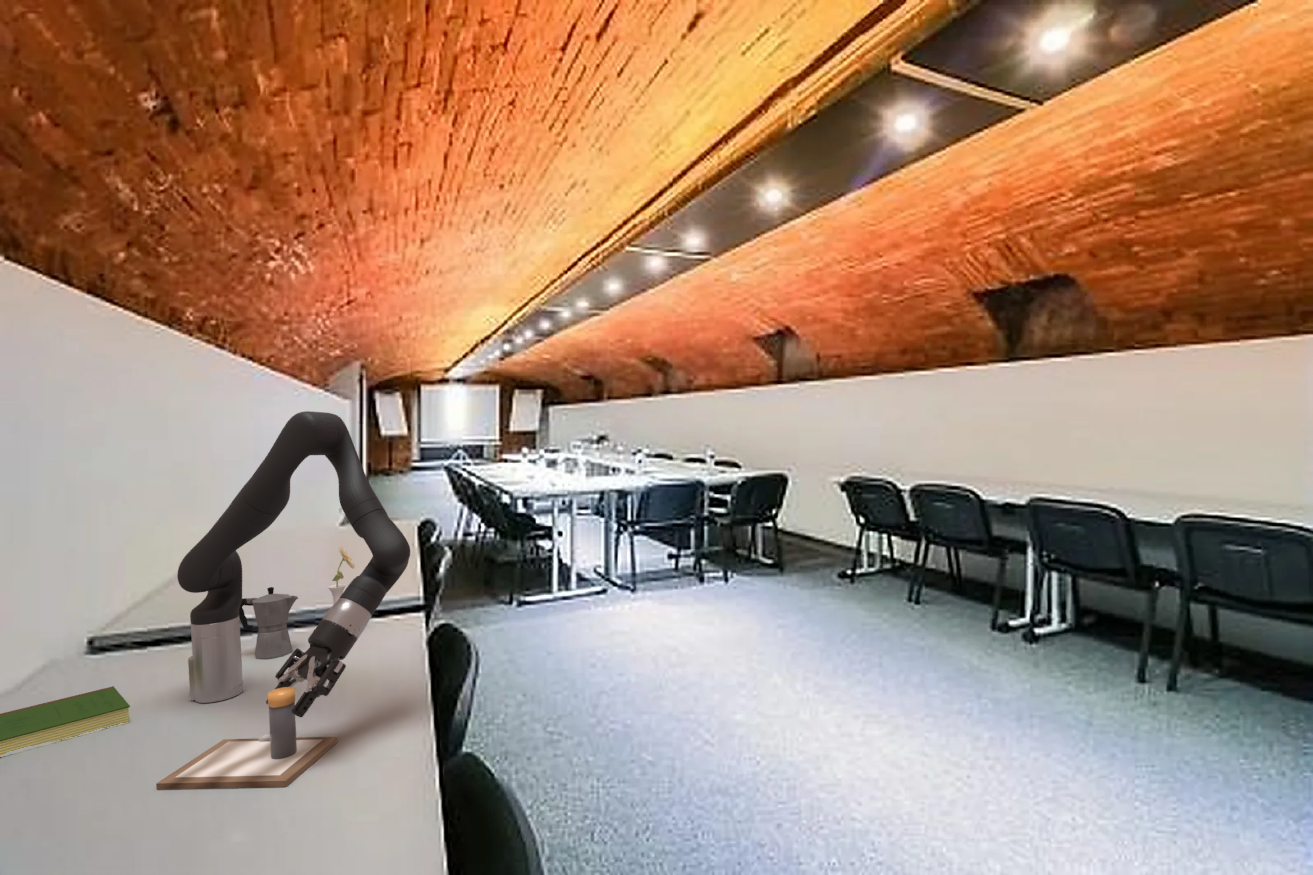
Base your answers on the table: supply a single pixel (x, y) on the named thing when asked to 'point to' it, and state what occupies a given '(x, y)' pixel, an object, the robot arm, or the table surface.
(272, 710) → the orange and grey cylinder
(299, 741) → the clipboard
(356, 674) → the table surface
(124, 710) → the hardcover book
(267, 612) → the coffeepot
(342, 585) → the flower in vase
